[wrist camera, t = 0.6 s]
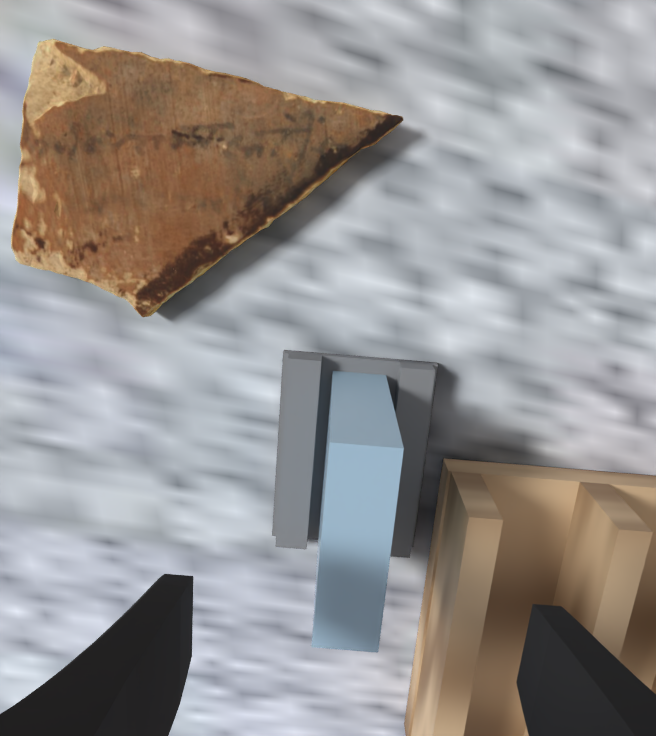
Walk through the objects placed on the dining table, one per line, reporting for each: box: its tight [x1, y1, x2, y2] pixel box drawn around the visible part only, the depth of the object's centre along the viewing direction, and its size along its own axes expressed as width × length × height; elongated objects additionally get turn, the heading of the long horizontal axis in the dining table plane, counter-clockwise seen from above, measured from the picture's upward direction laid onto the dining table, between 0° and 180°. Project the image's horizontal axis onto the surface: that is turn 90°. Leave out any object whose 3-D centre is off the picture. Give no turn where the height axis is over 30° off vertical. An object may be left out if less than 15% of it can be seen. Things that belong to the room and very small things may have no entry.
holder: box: [272, 350, 438, 558], centre depth 21 cm, size 7×5×1 cm
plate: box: [312, 371, 404, 652], centre depth 18 cm, size 6×2×6 cm, turn 175°
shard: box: [11, 39, 403, 317], centre depth 19 cm, size 11×8×2 cm
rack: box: [404, 458, 656, 736], centre depth 21 cm, size 12×14×4 cm
